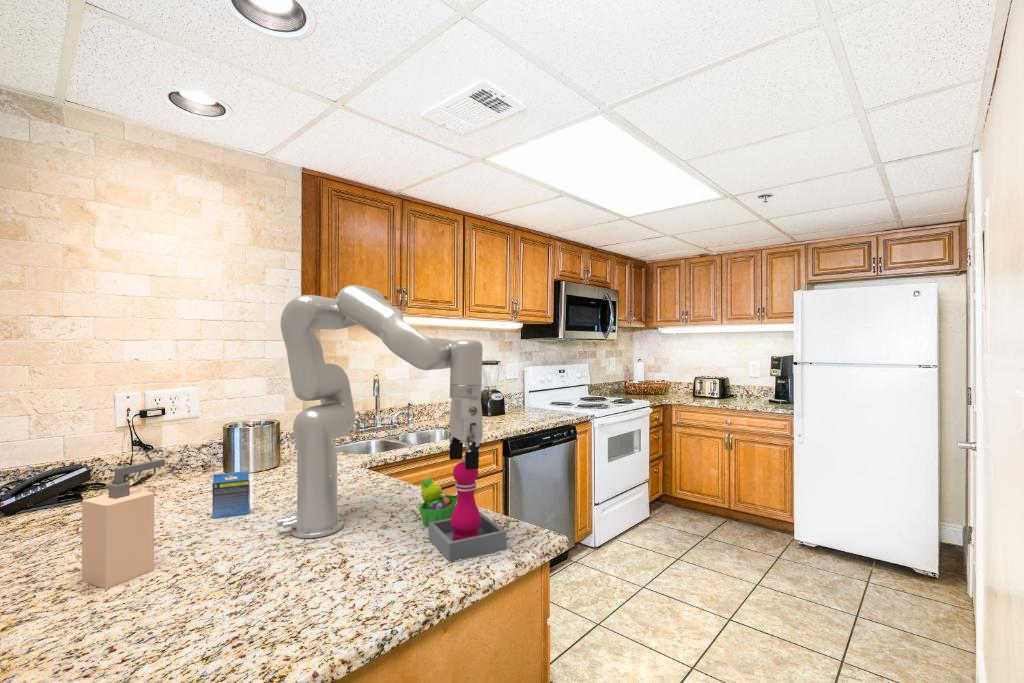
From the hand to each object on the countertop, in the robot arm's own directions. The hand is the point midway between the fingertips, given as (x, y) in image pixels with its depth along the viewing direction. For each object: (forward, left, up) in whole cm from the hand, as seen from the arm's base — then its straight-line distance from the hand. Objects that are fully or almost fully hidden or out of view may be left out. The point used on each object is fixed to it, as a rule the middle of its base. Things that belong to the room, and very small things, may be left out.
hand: (463, 463), depth 111 cm
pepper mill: (0, 0, -18) cm, 18 cm away
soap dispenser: (-66, +22, -19) cm, 72 cm away
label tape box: (-49, +50, -19) cm, 73 cm away
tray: (+1, 0, -19) cm, 19 cm away
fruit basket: (0, +18, -19) cm, 26 cm away
